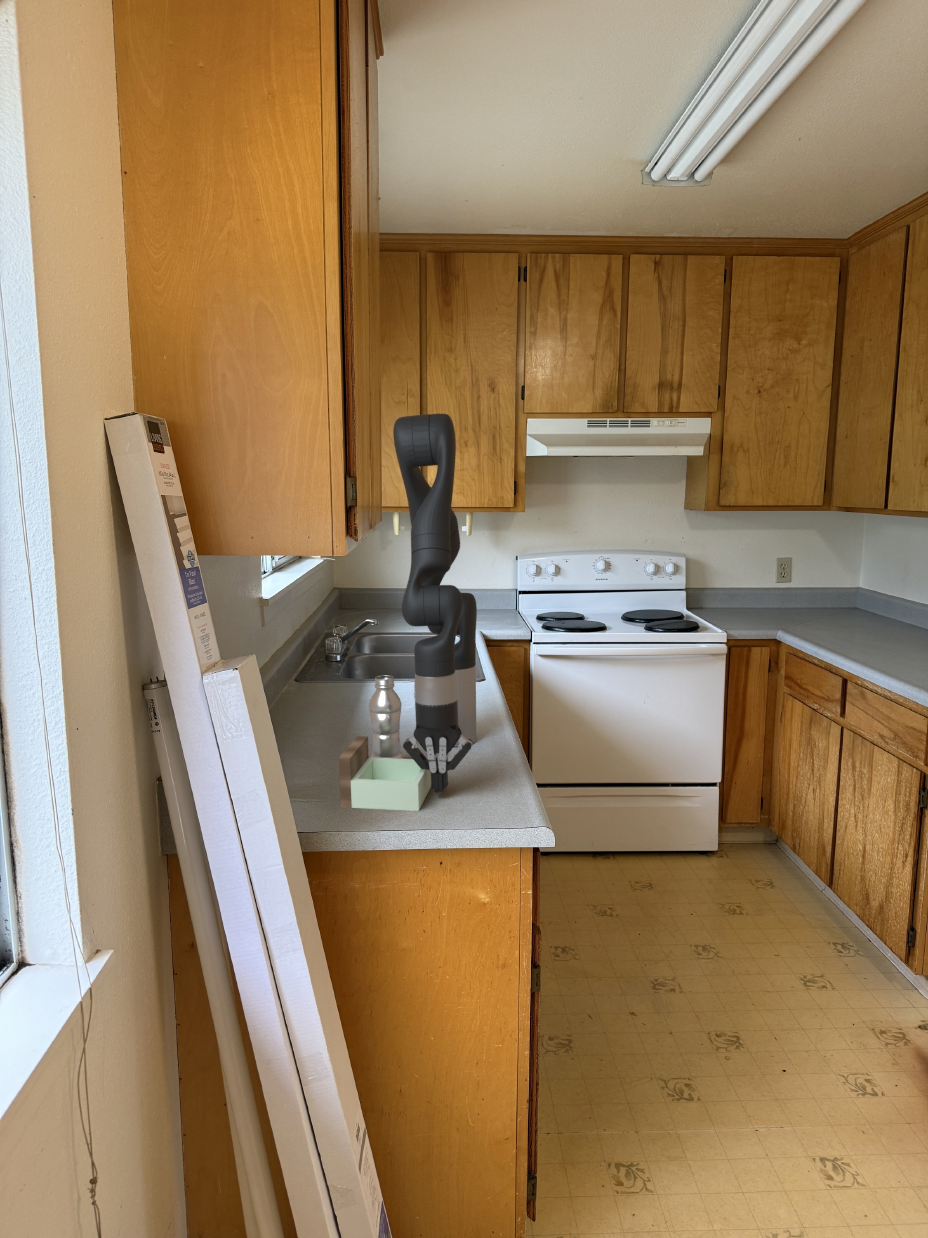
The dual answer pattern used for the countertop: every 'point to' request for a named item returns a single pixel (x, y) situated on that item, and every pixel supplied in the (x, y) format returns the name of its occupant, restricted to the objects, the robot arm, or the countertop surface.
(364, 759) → the backstop
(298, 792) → the countertop surface
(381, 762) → the socket block
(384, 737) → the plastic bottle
